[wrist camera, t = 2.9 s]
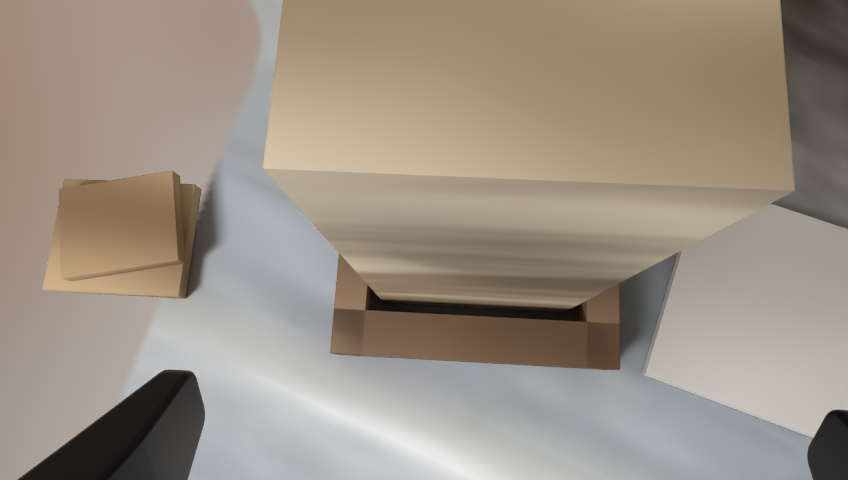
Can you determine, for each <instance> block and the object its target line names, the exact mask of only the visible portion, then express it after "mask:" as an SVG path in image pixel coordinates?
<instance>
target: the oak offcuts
mask: <svg viewBox="0 0 848 480" xmlns="http://www.w3.org/2000/svg"><path fill="white" fill-rule="evenodd" d="M200 195H201V189H200V188H199V187H197V186H196V185H194V184H180V176H179V175H177V174H176V173H175V172H173V171H168V172H162V173H155V174H149V175H143V176H137V177H131V178H124V179H118V180H112V181H101V180H79V179H64V181H63V187H62V188H61V189H59V207H58V213H57V218H56V223H55V228H54V233H53V238H52V243H51V248H50V254H49V259H48V264H47V269H46V275H45V279H44V285H43V289H44V290H49V291H54V292H72V293H92V294H110V295H129V296H148V297H167V298H185V299H186V293H187V286H188V279H189V272H190V265H191V258H192V251H193V244H194V237H195V230H196V223H197V216H198V209H199V202H200Z"/></svg>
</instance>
